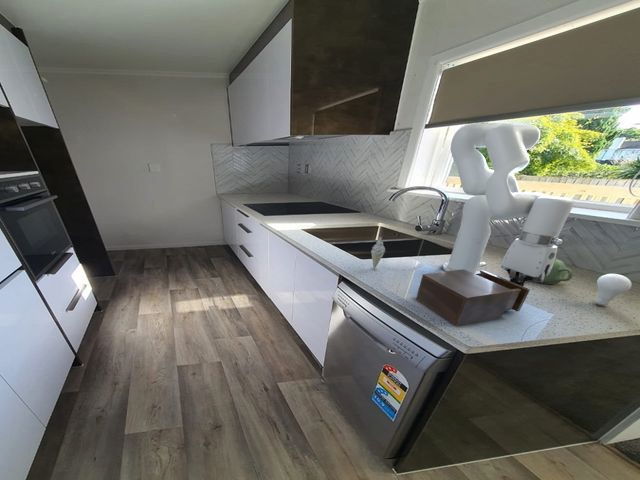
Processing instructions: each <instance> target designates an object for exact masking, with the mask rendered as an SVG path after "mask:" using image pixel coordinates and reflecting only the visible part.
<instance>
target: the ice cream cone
mask: <svg viewBox="0 0 640 480" xmlns="http://www.w3.org/2000/svg"><path fill="white" fill-rule="evenodd" d="M371 248H372V249H371V251H370V253H371V261H372V268H373V271H374V270H376V268H377V267H378V265H379V262H380V261H381V259H382V258H383V256H384V254H385V252H386V248H385V246H384V242H383V239H382V236H380V237H379V239H377V241H376V243H375V244H374V245H373V246H372V247H371Z"/></svg>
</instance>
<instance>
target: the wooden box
mask: <svg viewBox="0 0 640 480" xmlns="http://www.w3.org/2000/svg"><path fill="white" fill-rule="evenodd" d="M512 293H513V290H511V289H508V288H506V287H504V286H501V285H499V284H497V283H495V282H492V281H490V280H488V279H485V278H483V277H481V276H478V275H476V274H474V273H471V272H469V271H467V270H464V269H462V270H454V271H439V272H430V273H423V274H422V276H421V280H420V283H419V287H418V290H417V293H416V296H415V300H416V301H418V302H419V303H420V304H422V305H424V306H425V307H427V308H428V309H430V310H431V311H432V312H434V313H436V314H437V315H438V316H440V317H441V318H444V319H445V320H446V321H448V322H449V323H451V324H453V325H454V326H456V327H458V326H465V325H470V324H476V323H481V322H487V321H488V322H489V321H492V320H498V319H502V317H503V315H504V313H505V312H506V311H505V308H506V306H507V304H508V302H509V300H510V298H511V296H512Z"/></svg>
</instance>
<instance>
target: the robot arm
mask: <svg viewBox="0 0 640 480" xmlns="http://www.w3.org/2000/svg"><path fill="white" fill-rule="evenodd" d="M540 138H541V130H540V129H539V127H538V126H536V125H535V124H531V123H513V122H511V123H509V122H483V123H482V122H480V123H479V122H476V123H471V124H466V125H464V126H462V127H460V128H458V130H457V131H456V132H455V133H454V135H453V136H452V139H451V142H450V153H451V156H452V159H453V161H454V163H455V166H456V168H457V171H458V173H457V174H458V176H459V180H460V184H461V188H462V190H463V192H464V194H466V195H468V196H469V195H470V196H472V197H470V198H469V199H467V200H466V201H465V202H464V204H463V206H462V215H461V222H460V226H459V229H458V232H457V235H456V238H455V242H454V245H453V247H452V250H451V254H450V257H449V260H448V262H446V263H443V264H442V269H443V270H444V272H446V271H454V270H462V269H464V270H467V271H469V272H471V273H477V272H480V270H479V269H480V268H481V267H482V268H483V267H486V266H487V263H486V262H485V261H482V257H483V255H484V253H485V250H486V247H487V245H488V242H489V240H490V237H491V234H492V229H491V225H490V222H491V221H511V220H514V219H516V218H518V217H519V218H522V217H524V218H525V219H526V220H525V222H524V224H523V227H522V229H521V232H520V234H519V236H518V238H515V239H514V240H513V242H512V243H511V244H510V246H509V248H507V251H506V253H505V254H504V256H503V258H502V262H501V266H500V268H501V269H502V270H504V271H506V273H507V274H508V278H509V281H511V282H514V283H516V284H518V285H521V286H523V287H525V284H526V282H530V281H533V282H536V281H537V282H536V283H540V282H541V281H544V276H547V275H549V273H550V271H551V269H552V266H553V264H554V261H555V258H556V259H557V253H558V246H557V245H561V244H563V242H564V241H563V239H560V233H561V232H562V230H563V227H564V225H565V223H566V221H567V219H568V217H569V215H570V213H571V211H572V209H573V208H574V204H575V202H574V200H573V199H571V198H569V197H563V196H552V195H548V194H545V193H541V192H521V191H520V188H519V183H518V182H517V179H516V177H515V175H514V174H516V173H518V172H520V171H522V170H523V169H525V168H526V167H527V166H528V165H529V164H530V156H529V154H528V152H527V151H528V150H530V149H532V148H533V147H534V146H535V145H537V143H538V142H539V140H540ZM477 148H486V151H487V155H488V157H489V160H490V163H491V167H492V169H490V168H489V166H488V164H487V160H486V158H485V156H484V155H483V154H482V152H480V151H479V149H477ZM521 273H522V274H521ZM520 274H521V276H520Z"/></svg>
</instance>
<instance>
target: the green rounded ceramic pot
mask: <svg viewBox="0 0 640 480" xmlns="http://www.w3.org/2000/svg"><path fill="white" fill-rule="evenodd" d="M567 272H568V276H567V277H566V274H567ZM573 272H574V271H573V270H572V269H571V268H569V267H566V264H565V263H564V261H562V260H560V259H558V258H557V257H556V258H555V261H554V264H553V266H552V269H551V271H550V273H549V275H547V276H544V281H541V282H539V283H541V284H547V285H552V284H560V283H561V282H567V281H568V282H569V281H570V280H571V279H572V278H573V276H574V273H573ZM521 274H522V273H521ZM521 274H520V276H521ZM535 282H536V283H538V282H537V281H535Z"/></svg>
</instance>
